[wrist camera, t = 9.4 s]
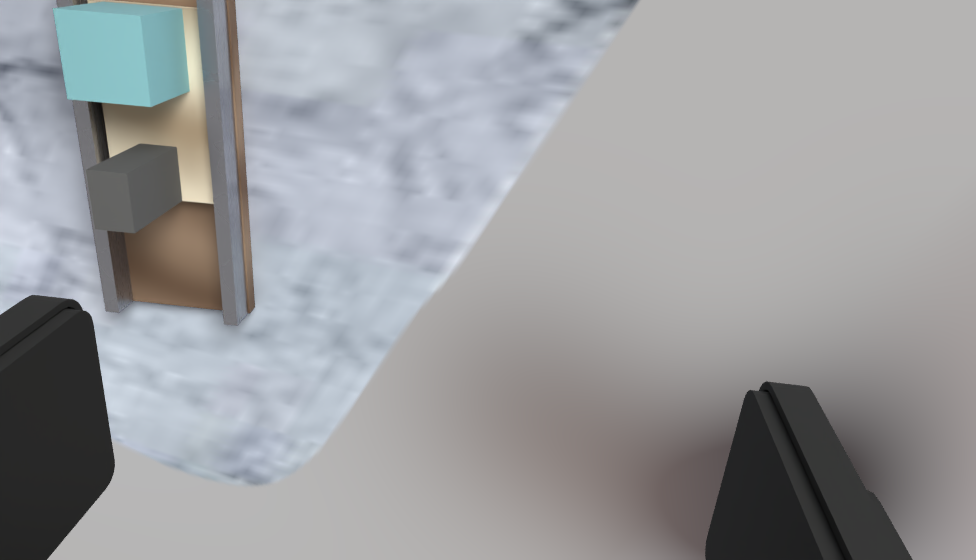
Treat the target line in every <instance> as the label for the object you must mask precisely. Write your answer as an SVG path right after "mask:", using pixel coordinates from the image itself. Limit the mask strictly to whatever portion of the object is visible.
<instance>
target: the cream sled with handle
mask: <svg viewBox="0 0 976 560" xmlns="http://www.w3.org/2000/svg"><path fill="white" fill-rule="evenodd" d="M87 1H88V4H89V3H96V2H114V3H126V4H137V5H149V6H160V7H172V8H182V12H183V23H184V34H185V44H186V55H187V66H188V77H189V87H190V91H189V92H187V93H184V94H182V95H179V96H177V97H174V98H172V99H169V100H167V101H164V102H162V103H160V104H157V105H155V106H152V107H145V106H134V105H124V104H113V103H102V107H103V114H104V121H105V128H106V135H107V142H108V149H109V156H110V158H109V159H107V160H105V161H102V162H100V163H98V164H96V165H94V166H92V167H90V168H88V169H86V175H87V182H88V188H89V194H90V201H91V207H92V213H93V220H94V226H95V229H97V230H106V231H116V232H126V233H136V232H138V231H139V230H141V229H142V228H144V227H145V226H146V225H148V224H149V223H151V222H152V221H154V220H155V219H157V218H158V217H160V216H161V215H162V214H164V213H165V212H167V211H168V210H170V209H171V208H173V207H174V206H176V205H177V204H178V203H180V202H181V201H189V202H199V203H209V204H214V202H213V190H212V178H211V167H210V155H209V143H208V132H207V120H206V108H205V96H204V85H203V73H202V61H201V49H200V38H199V26H198V14H197V8H195V7H183V6H172V5H160V4H149V3H137V2H125V1H114V0H87Z"/></svg>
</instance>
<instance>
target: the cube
mask: <svg viewBox="0 0 976 560" xmlns="http://www.w3.org/2000/svg"><path fill="white" fill-rule="evenodd" d="M53 13H54V19H55V25H56V31H57V37H58V44H59V50H60V56H61V62H62V68H63V75H64V81H65V87H66V93H67V99H70V100H81V101H92V102H102V103H113V104H124V105H134V106H145V107H152V106H155V105H157V104H160V103H162V102H164V101H167V100H169V99H172V98H174V97H177V96H179V95H182V94H184V93H187V92H189V91H190V87H189V77H188V66H187V55H186V44H185V34H184V23H183V12H182V8H172V7H160V6H149V5H137V4H126V3H114V2H96V3H89V4H81V5H74V6H66V7H59V8H53Z"/></svg>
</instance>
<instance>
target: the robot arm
mask: <svg viewBox="0 0 976 560" xmlns="http://www.w3.org/2000/svg"><path fill="white" fill-rule="evenodd" d="M114 467H115V460H114V453H113V447H112V441H111V434H110V428H109V421H108V415H107V408H106V402H105V396H104V389H103V383H102V376H101V370H100V364H99V357H98V351H97V344H96V338H95V332H94V325H93V320H92V317H91V316H90V314H89V313H88V312H86V311H83V310H82V307H81V306H80V304H79V303H78V302H77V301H75V300H73V299H64V298H56V297H48V296H39V295H31V296H29V297H27V298H25V299H23V300H22V301H20V302H19V303H17V304H16V305H14V306H13V307H11V308H10V309H8V310H7V311H5V312H4V313H2V314H1V315H0V560H47V559H48V558H49V556H50V555H51V554H52V553H53V552H54V550H55V549H56V548H57V547H58V546H59V544H60V543H61V542H62V541H63V539H64V538H65V537H66V536H67V535H68V533H69V532H70V531H71V530H72V529H73V528H74V526H75V525H76V524H77V523H78V522H79V520H80V519H81V518H82V517H83V516H84V514H85V513H86V512H87V511H88V510H89V508H90V507H91V506H92V505H93V504H94V502H95V501H96V500H97V499H98V498H99V496H100V495H101V494H102V493H103V492H104V490H105V489H106V488H107V486H108V485H109V483H110V481H111V479H112V476H113V473H114ZM705 554H706V555H705V556H706V560H912V558H911V556H910V554H909V553H908V551H907V549H906V547H905V545H904V544H903V542H902V540H901V538H900V537H899V535H898V533H897V532H896V530H895V528H894V526H893V524H892V522H891V521H890V519H889V517H888V516H887V513H886V512H885V510H884V508H883V506H882V505H881V503H880V501H879V500H878V499H877V497H876V496H875V495H874V494H873V493H872V492H870V491H868V490H866V488H865V486H864V485H863V483H862V481H861V479H860V477H859V476H858V474H857V472H856V470H855V468H854V467H853V465H852V463H851V461H850V459H849V457H848V455H847V454H846V452H845V450H844V448H843V446H842V445H841V443H840V441H839V439H838V437H837V435H836V434H835V432H834V430H833V428H832V426H831V425H830V423H829V421H828V419H827V417H826V416H825V414H824V412H823V410H822V408H821V406H820V405H819V403H818V401H817V399H816V397H815V395H814V394H813V392H812V390H811V389H810V388H809V387H806V386H800V385H791V384H782V383H774V382H765V383H763V384H762V386H761V387H760V390H759V391H753V390H749V391H748V392H747V394H746V395H745V398H744V402H743V405H742V409H741V413H740V416H739V420H738V424H737V428H736V431H735V435H734V439H733V443H732V446H731V450H730V454H729V457H728V461H727V465H726V468H725V472H724V476H723V480H722V483H721V487H720V491H719V495H718V498H717V502H716V506H715V509H714V514H713V517H712V521H711V524H710V528H709V532H708V536H707V540H706V552H705Z"/></svg>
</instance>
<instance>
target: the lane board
mask: <svg viewBox="0 0 976 560" xmlns="http://www.w3.org/2000/svg"><path fill="white" fill-rule="evenodd" d="M114 1H125V2H137V3H149V4H160V5H172V6H183V7H195V8H197V14H198V26H199V38H200V49H201V61H202V73H203V85H204V96H205V108H206V120H207V132H208V143H209V155H210V167H211V178H212V190H213V202H214V204H209V203H199V202H189V201H181V202H180V203H178V204H177V205H176V206H174V207H173V208H171V209H170V210H168V211H167V212H165V213H164V214H162V215H161V216H160V217H158V218H157V219H155V220H154V221H152V222H151V223H149V224H148V225H146V226H145V227H144V228H142V229H141V230H139V231H138V232H136V233H126V232H116V231H106V230H97V229H95V226H94V220H93V213H92V207H91V201H90V194H89V188H88V182H87V175H86V169H88V168H90V167H92V166H94V165H96V164H98V163H100V162H102V161H105V160H107V159H109V158H110V156H109V149H108V142H107V135H106V128H105V121H104V114H103V107H102V102H92V101H81V100H72V101H73V107H74V113H75V120H76V126H77V132H78V139H79V145H80V151H81V157H82V164H83V170H84V176H85V183H86V189H87V195H88V202H89V208H90V214H91V221H92V227H93V233H94V239H95V246H96V252H97V258H98V265H99V271H100V277H101V284H102V290H103V296H104V303H105V309H106V311H108V312H117V313H120V312H121V311H122V310H123V309H124V308H126V307H127V306H128V305H129V304H130V303H131V302H133V301H141V302H151V303H160V304H169V305H178V306H188V307H197V308H206V309H215V310H223V319H224V324H227V325H236V326H238V325H239V323H240V322H241V321H242V320H243V319H244V317H245V316H246V315H247V314H248V313H250V312H251V311H252V310H253V309H254V308H255V301H254V286H253V271H252V255H251V240H250V225H249V209H248V194H247V178H246V163H245V148H244V132H243V117H242V101H241V86H240V71H239V55H238V40H237V25H236V9H235V0H114ZM81 4H88V1H87V0H57V6H58V8H59V7H66V6H74V5H81Z"/></svg>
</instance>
